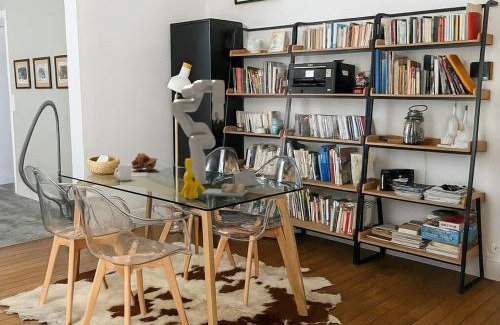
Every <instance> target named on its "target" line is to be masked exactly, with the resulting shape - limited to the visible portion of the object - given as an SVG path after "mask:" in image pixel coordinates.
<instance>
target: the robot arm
mask: <svg viewBox="0 0 500 325" xmlns="http://www.w3.org/2000/svg"><path fill="white" fill-rule="evenodd" d="M225 91H226V90H225V81H224V80H223V79H221V80H220V79H200V80H196V81H194V82H193V83H192V84H188V85H185V86H183V87H182V89H181V95H182V97H183V98H180V99H176V100H174V101H173V102H172V103H171V114H172V115H173V117H174V118H175V120H176V121H177V122H178V124H179V125H180V127H181V128H182V130H183V133H184V134H185V135H186V137H187V138H188V147H189V152H190V159H192V162H193V166H192V172H193V173H194V174H195V179H198V181H199V182H200V184H201V185H202V186H204V185H208V184H209V181H208V180H207V178H206V177H207V174H206V172H207V171H206V164H207V163H206V159H207V158H206V154H205V152H204V150H207V149H208V150H210V149H213V148H214V147H215V146H216V139H215V136H214V134H213V132H212V131H211V129H210V127H209V126H208V124H206V123H205V122H200V121H199V122H195V121H194V120H193V119H192V118H191V116H190V115H189V114H188V113H194V112H196V111H197V110H198V108H199V106H200V104H201V102H202V99H203V98H204V94H205V93H211V103H212V108H211V109H212V110H211V111H212V112H211V120H212V121H213V130H214V131H219V130H223V129H224V117H225V113H224V112H225V110H224V108H225V107H224V104H225V103H226V102H225V95H226V93H225Z"/></svg>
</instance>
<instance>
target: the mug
mask: <svg viewBox="0 0 500 325" xmlns="http://www.w3.org/2000/svg"><path fill="white" fill-rule="evenodd" d="M117 166H118V167H116V168H115V169H114V172H113V173H114V174H113V175H114V177H115V178H116V179H118V180H119V181H121V182H126V181H131V180H132V163H131V164H130V163H120V164H118V165H117ZM117 171H118V172H117ZM117 173H118V174H117Z"/></svg>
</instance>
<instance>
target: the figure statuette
mask: <svg viewBox="0 0 500 325" xmlns="http://www.w3.org/2000/svg"><path fill="white" fill-rule="evenodd" d="M192 166H193V162H192V159H191V158H185V161H184V167H185V172H184V175H183V182H184V185H183V188H182V190H181V192H180V194H179V196H182V195H183V197H184V198H186V199H187V200H195V198H196V199H198V198H199V191H198V188H199V189H201V191H202V192H205V191H206V190H207V189H206V188H205V187H204V185H201V184H200V182H199V181H198V179H195V174H194V173H193V172H192Z"/></svg>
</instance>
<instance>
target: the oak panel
mask: <svg viewBox="0 0 500 325" xmlns="http://www.w3.org/2000/svg"><path fill="white" fill-rule="evenodd" d="M221 189H222V192H227V193H242V192H244V190H245V186H244V184H233V183H223V184H222V185H221Z"/></svg>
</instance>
